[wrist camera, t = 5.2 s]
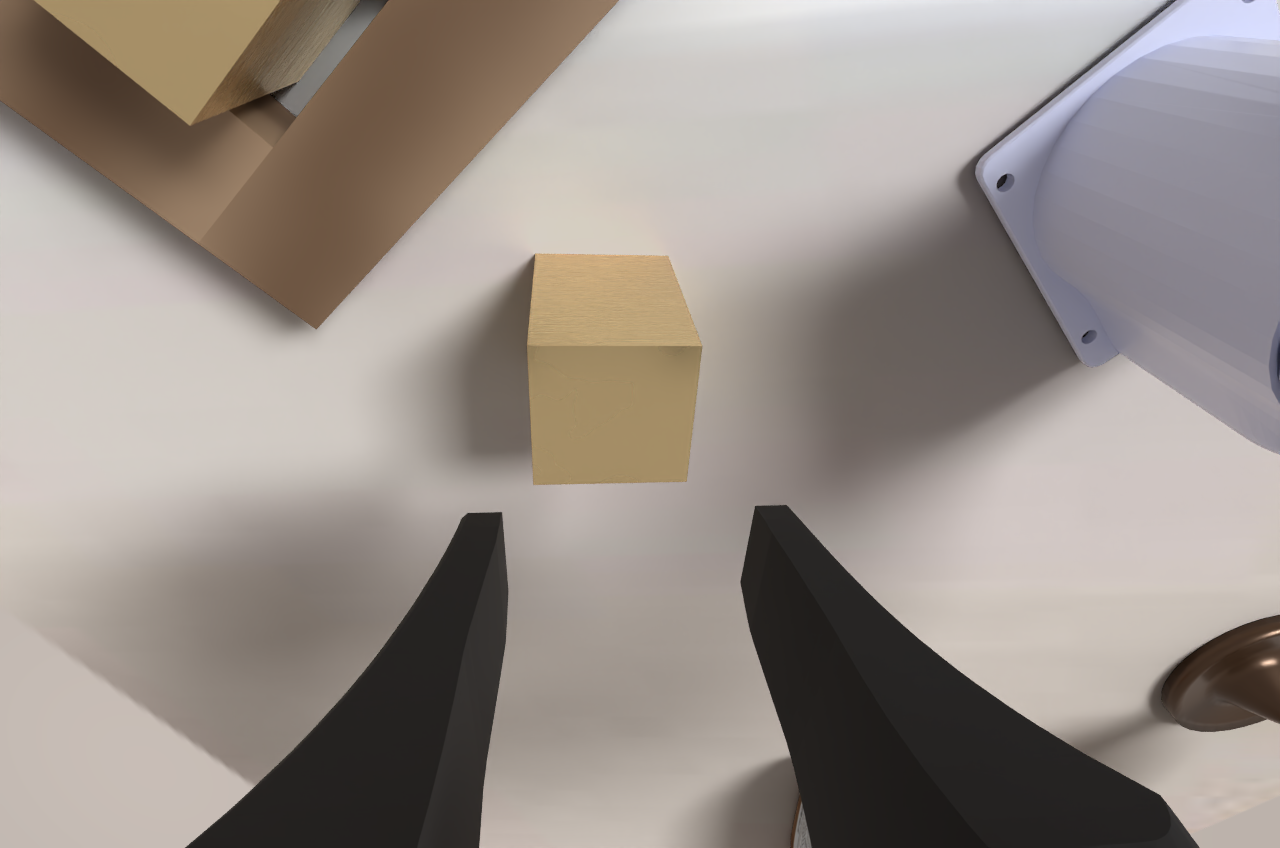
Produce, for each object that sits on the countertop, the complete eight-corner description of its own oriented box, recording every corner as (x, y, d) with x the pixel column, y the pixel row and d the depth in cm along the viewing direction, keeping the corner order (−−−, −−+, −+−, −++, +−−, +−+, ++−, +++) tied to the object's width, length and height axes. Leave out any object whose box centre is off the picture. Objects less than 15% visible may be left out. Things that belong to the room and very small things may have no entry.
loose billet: (668, 255, 20) (702, 346, 15) (659, 370, 23) (686, 481, 18) (535, 253, 20) (526, 345, 15) (539, 370, 22) (533, 484, 17)
